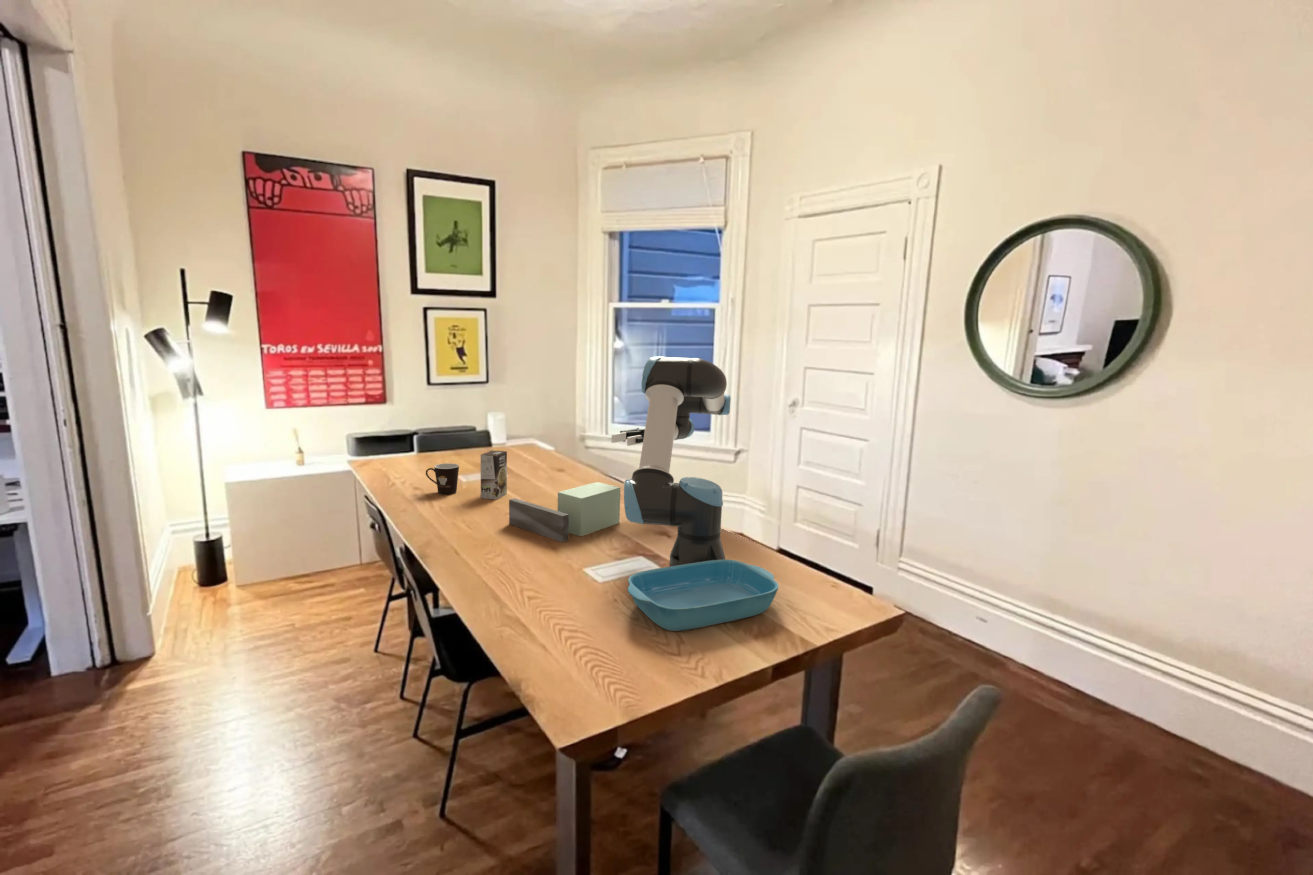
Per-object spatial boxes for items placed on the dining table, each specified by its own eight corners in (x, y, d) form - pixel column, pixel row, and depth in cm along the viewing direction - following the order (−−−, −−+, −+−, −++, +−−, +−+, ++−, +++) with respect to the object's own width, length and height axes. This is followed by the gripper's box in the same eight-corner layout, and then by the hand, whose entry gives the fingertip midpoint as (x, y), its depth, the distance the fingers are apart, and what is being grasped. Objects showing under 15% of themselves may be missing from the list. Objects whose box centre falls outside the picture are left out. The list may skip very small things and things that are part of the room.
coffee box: (496, 500, 226) (496, 455, 223) (480, 498, 227) (479, 454, 224) (507, 493, 235) (507, 450, 232) (491, 492, 236) (491, 449, 233)
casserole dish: (738, 578, 165) (740, 552, 164) (795, 614, 146) (798, 585, 145) (609, 603, 148) (610, 574, 146) (654, 647, 128) (656, 614, 127)
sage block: (596, 516, 212) (597, 481, 210) (619, 523, 206) (620, 487, 204) (557, 529, 198) (557, 492, 195) (580, 536, 192) (581, 498, 189)
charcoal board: (515, 522, 202) (515, 498, 201) (568, 540, 188) (568, 514, 186) (509, 524, 200) (509, 499, 199) (562, 542, 186) (562, 516, 184)
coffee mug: (464, 492, 234) (464, 465, 232) (445, 497, 227) (445, 469, 225) (443, 486, 240) (442, 461, 238) (424, 491, 233) (423, 464, 231)
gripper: (684, 446, 221) (642, 455, 203) (641, 438, 232) (598, 446, 214) (685, 425, 220) (643, 432, 202) (642, 418, 231) (599, 425, 213)
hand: (620, 440), depth 208 cm, fingers open, 6 cm apart
